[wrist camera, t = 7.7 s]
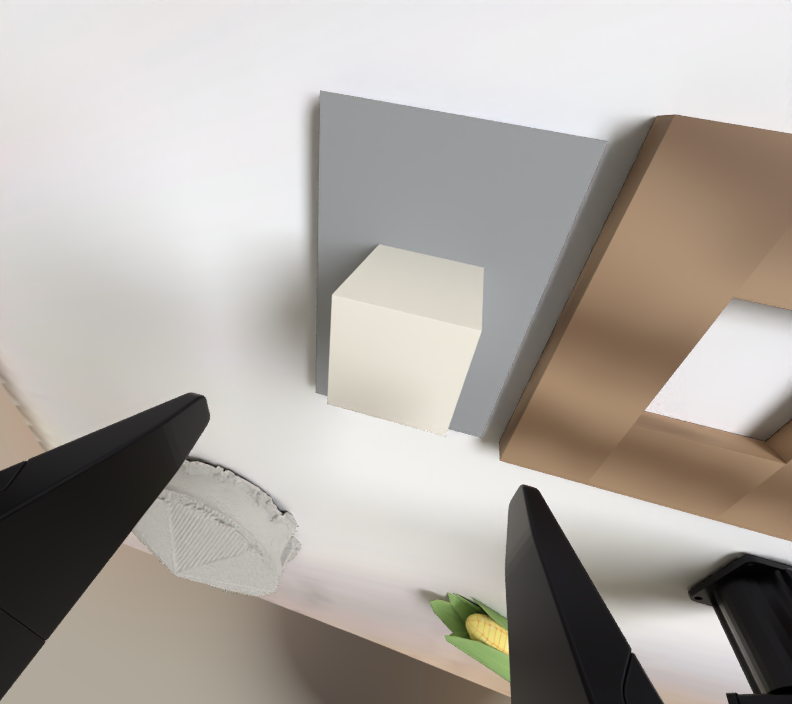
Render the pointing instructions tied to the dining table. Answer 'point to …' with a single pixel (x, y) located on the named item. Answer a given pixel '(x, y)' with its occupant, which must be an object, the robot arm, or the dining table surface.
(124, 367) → the dining table surface
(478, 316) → the white block
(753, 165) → the pocket plate
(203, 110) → the dining table surface
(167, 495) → the grey stone disc
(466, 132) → the grey mat
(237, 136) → the dining table surface
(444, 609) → the edible corn
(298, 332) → the dining table surface
